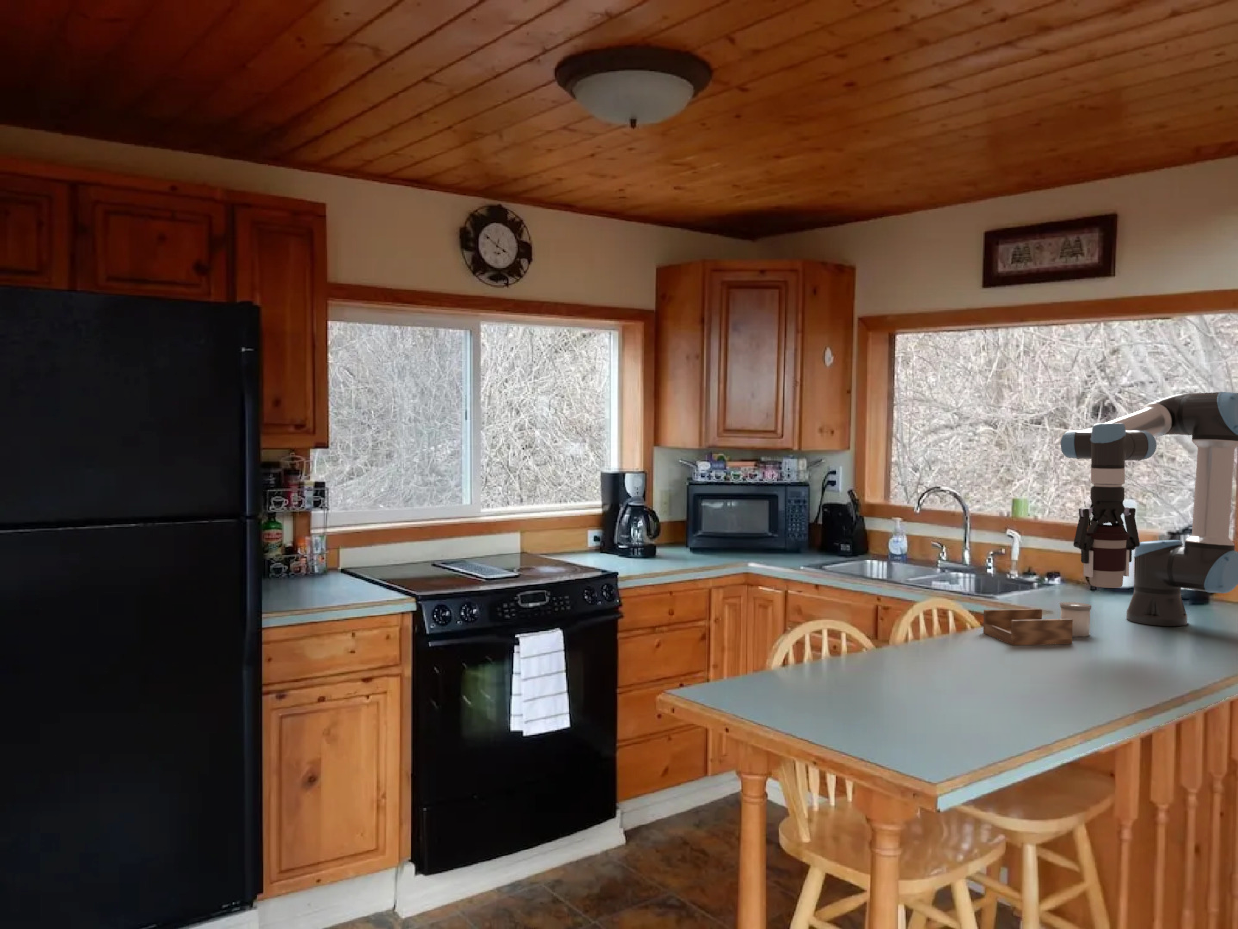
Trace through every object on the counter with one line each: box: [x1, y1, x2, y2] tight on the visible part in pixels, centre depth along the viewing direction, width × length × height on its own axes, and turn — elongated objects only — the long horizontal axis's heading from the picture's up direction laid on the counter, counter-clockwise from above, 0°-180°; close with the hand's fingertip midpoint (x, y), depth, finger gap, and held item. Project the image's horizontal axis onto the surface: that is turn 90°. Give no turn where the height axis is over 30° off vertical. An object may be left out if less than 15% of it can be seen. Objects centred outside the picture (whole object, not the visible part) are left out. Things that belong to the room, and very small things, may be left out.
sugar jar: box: [1059, 601, 1092, 637], centre depth 259 cm, size 8×8×8 cm
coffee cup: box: [1086, 524, 1129, 589], centre depth 241 cm, size 10×10×15 cm
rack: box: [982, 608, 1073, 646], centre depth 253 cm, size 16×15×6 cm
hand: (1106, 576), depth 241 cm, fingers closed on coffee cup, 9 cm apart
